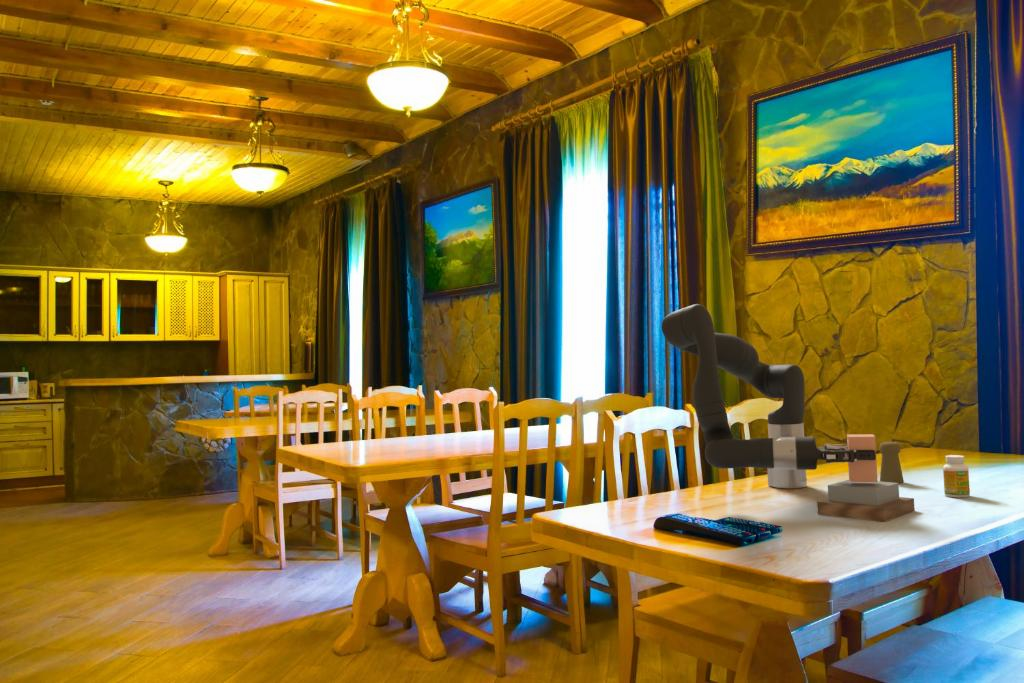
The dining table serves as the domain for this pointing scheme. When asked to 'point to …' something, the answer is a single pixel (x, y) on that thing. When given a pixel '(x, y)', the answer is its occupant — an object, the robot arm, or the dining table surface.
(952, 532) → the dining table surface
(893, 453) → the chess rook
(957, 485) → the supplement bottle
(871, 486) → the slate top block
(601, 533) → the dining table surface
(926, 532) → the dining table surface
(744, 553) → the dining table surface
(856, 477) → the terracotta block
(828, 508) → the walnut base block
